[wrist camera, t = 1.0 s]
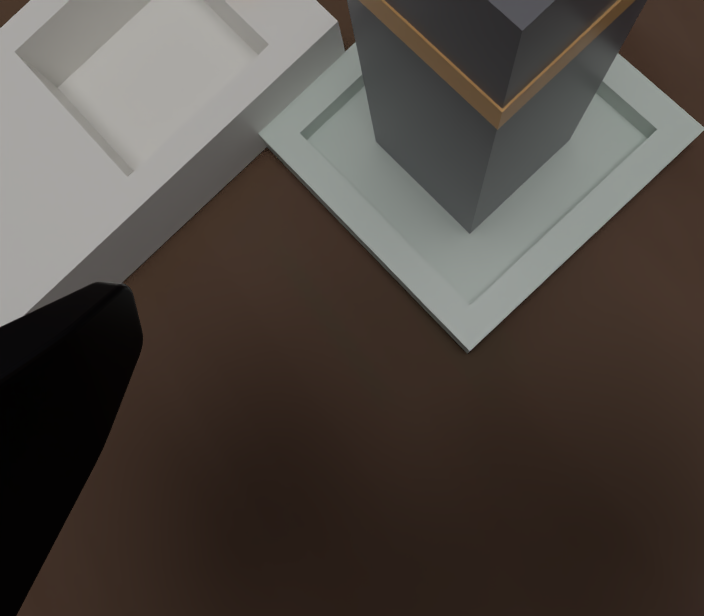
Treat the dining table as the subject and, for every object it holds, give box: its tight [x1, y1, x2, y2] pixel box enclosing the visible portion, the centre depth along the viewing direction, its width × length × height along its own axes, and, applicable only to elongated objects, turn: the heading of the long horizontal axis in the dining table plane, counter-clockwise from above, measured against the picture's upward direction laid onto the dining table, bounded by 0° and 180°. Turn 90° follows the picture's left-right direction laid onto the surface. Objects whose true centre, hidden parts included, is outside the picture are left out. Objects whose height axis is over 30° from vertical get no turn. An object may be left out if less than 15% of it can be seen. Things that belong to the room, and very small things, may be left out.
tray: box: [258, 42, 704, 354], centre depth 21 cm, size 10×10×1 cm
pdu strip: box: [0, 0, 345, 327], centre depth 22 cm, size 24×8×4 cm, turn 133°
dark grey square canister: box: [347, 0, 647, 234], centre depth 15 cm, size 5×5×14 cm
